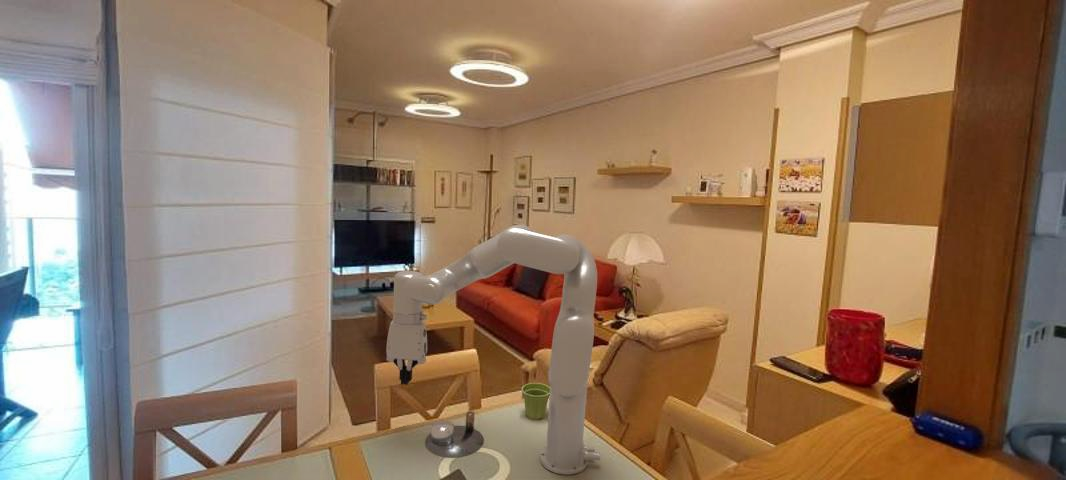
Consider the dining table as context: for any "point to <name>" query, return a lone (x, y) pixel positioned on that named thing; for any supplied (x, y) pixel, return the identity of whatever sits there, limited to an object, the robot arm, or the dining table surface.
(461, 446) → the turntable
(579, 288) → the robot arm
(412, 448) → the dining table surface
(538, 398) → the plant pot
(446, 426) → the cover
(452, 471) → the dining table surface
